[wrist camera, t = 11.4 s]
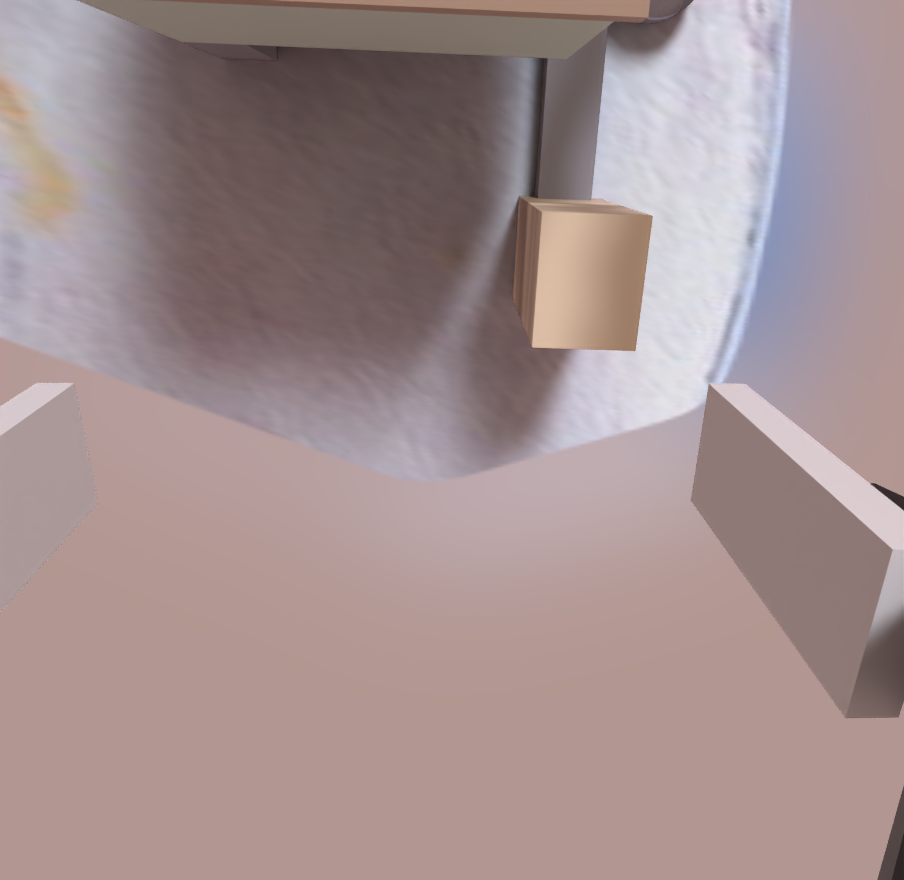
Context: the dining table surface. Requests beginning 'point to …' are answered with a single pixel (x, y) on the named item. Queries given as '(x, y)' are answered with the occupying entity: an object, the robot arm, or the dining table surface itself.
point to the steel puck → (664, 9)
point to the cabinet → (380, 24)
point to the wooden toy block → (577, 224)
